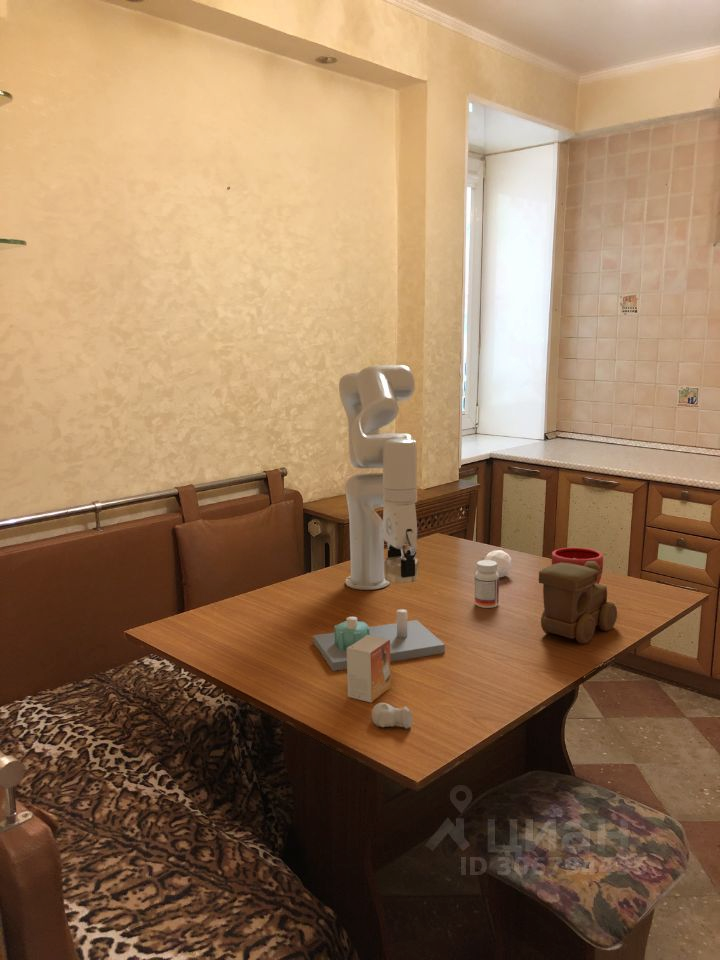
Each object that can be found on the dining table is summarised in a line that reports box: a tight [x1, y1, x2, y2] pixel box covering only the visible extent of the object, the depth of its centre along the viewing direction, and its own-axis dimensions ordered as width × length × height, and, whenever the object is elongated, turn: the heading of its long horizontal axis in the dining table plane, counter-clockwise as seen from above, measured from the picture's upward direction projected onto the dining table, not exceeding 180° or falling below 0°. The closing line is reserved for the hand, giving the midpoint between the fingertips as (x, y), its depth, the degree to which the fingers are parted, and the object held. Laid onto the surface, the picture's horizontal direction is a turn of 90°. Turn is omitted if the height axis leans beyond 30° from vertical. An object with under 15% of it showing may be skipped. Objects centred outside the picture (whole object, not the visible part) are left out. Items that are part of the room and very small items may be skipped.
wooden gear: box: [384, 555, 419, 585], centre depth 179 cm, size 7×8×4 cm
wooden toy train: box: [538, 561, 618, 645], centre depth 185 cm, size 20×11×17 cm, turn 135°
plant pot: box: [551, 547, 604, 584], centre depth 210 cm, size 13×13×12 cm
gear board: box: [312, 609, 446, 672], centre depth 180 cm, size 16×26×8 cm, turn 109°
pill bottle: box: [474, 559, 500, 609], centre depth 206 cm, size 6×6×11 cm
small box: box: [346, 635, 392, 703], centre depth 158 cm, size 8×6×10 cm
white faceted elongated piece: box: [484, 549, 513, 578], centre depth 230 cm, size 8×8×12 cm
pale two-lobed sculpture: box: [371, 702, 413, 729], centre depth 146 cm, size 4×8×5 cm
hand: (401, 570), depth 179 cm, fingers closed on wooden gear, 7 cm apart
